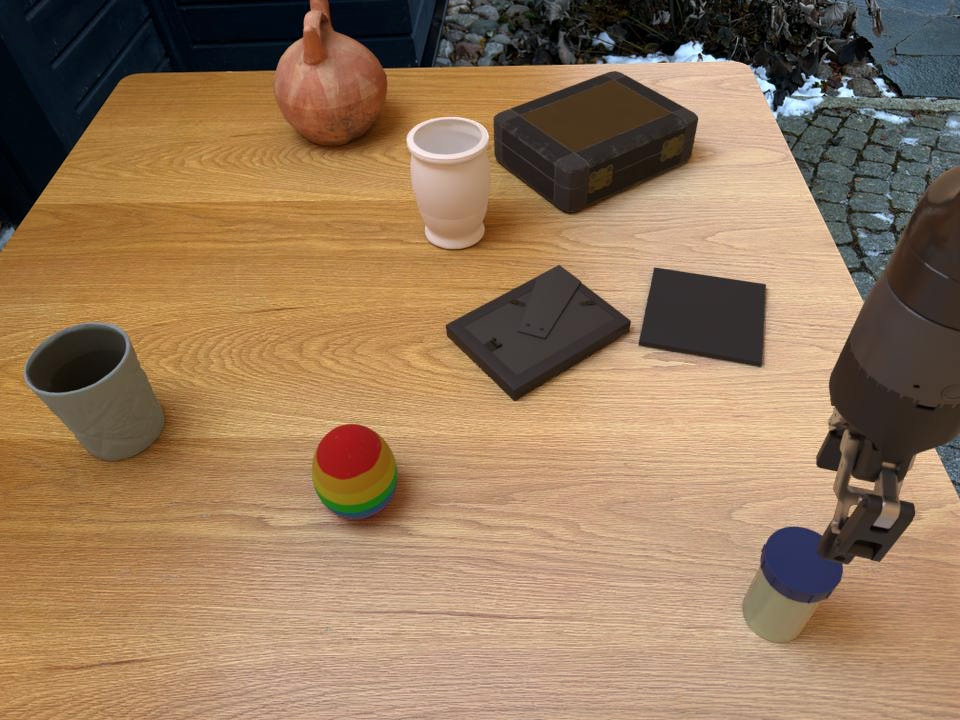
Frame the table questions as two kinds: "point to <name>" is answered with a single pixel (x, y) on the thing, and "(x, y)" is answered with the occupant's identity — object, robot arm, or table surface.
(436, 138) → the jar
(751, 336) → the mat
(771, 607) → the spice jar
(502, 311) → the picture frame
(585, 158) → the cash box
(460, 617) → the table surface
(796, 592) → the lid
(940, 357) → the robot arm
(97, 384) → the grey cup
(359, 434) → the decorative egg
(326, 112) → the jug
